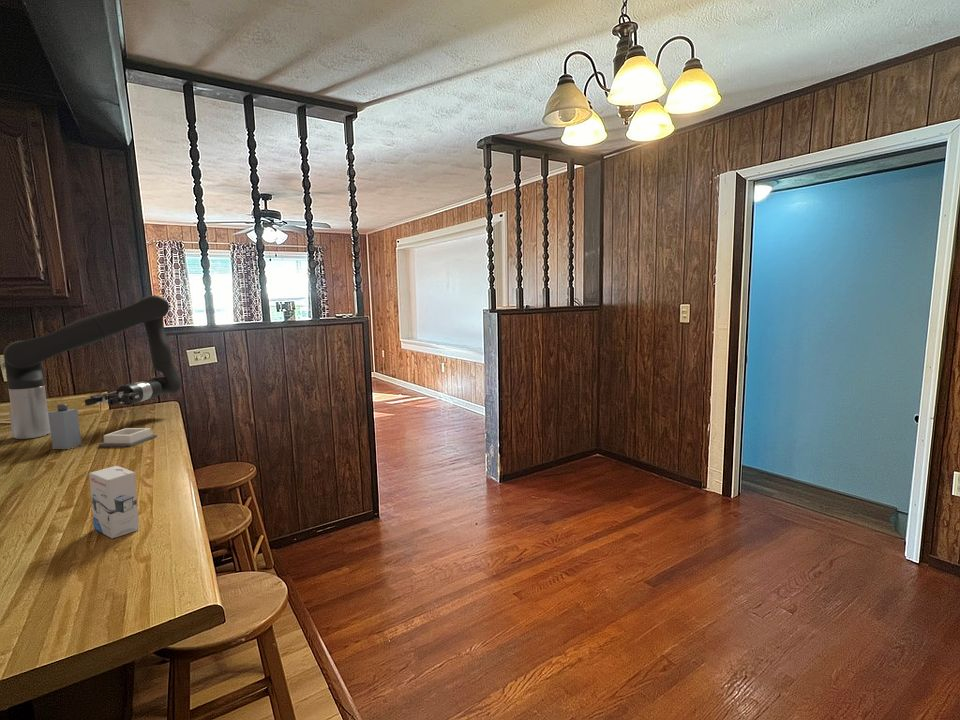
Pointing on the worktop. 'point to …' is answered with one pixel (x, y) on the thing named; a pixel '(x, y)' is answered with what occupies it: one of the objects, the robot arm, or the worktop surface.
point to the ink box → (114, 501)
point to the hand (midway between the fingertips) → (97, 402)
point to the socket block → (127, 437)
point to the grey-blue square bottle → (64, 427)
